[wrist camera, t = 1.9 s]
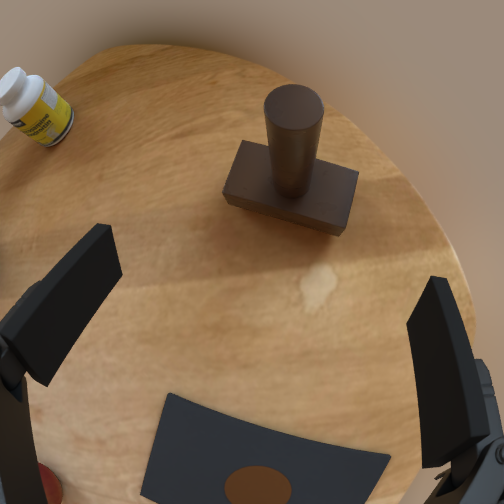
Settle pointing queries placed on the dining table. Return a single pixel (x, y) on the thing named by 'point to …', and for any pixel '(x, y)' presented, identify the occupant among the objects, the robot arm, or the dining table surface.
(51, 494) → the apple
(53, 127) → the pill bottle
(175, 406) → the stain mat
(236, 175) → the scrub brush
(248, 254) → the dining table surface
